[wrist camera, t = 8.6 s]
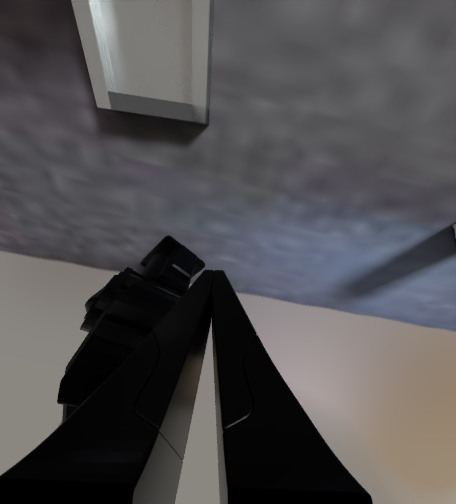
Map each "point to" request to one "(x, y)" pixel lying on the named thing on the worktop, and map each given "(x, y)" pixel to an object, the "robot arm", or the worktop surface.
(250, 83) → the worktop surface
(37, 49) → the worktop surface
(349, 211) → the worktop surface
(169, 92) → the fader track
